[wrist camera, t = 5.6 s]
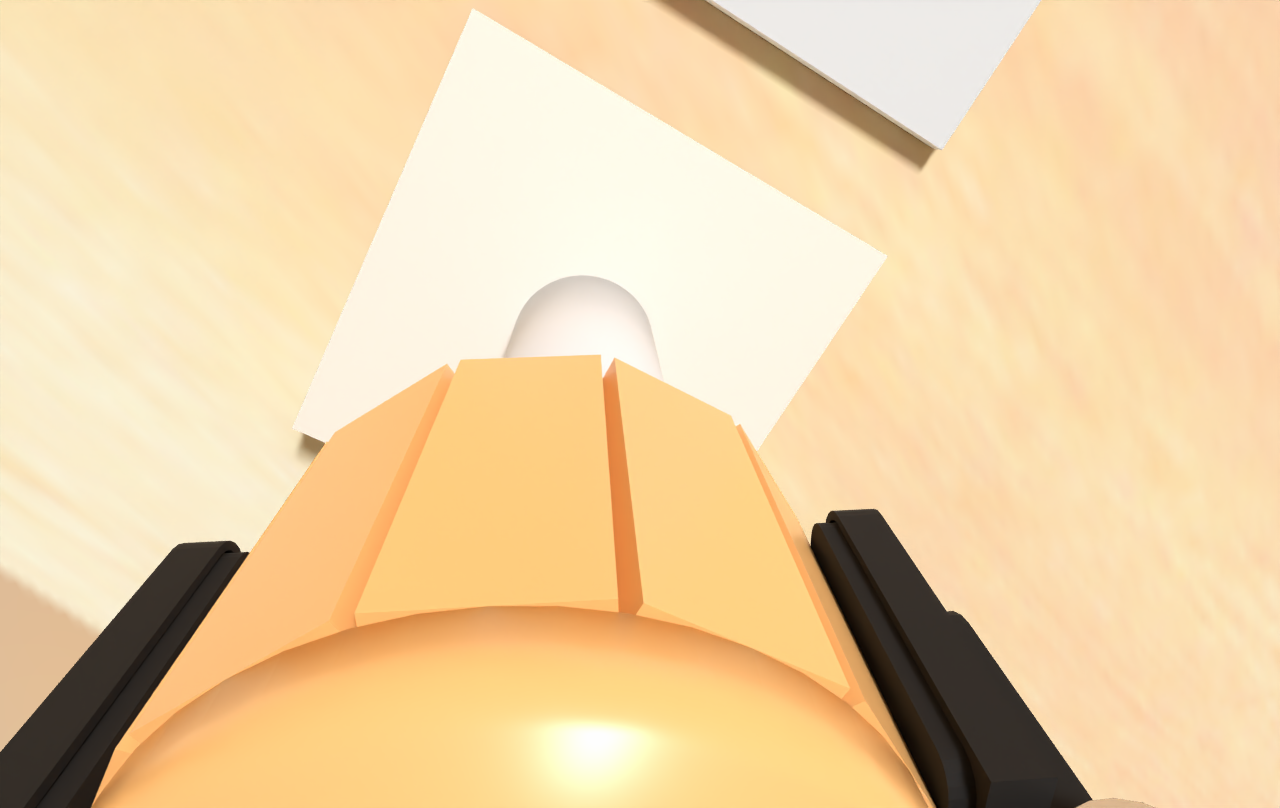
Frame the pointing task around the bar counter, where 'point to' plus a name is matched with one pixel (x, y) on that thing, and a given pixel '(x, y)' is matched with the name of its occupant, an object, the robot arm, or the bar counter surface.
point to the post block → (583, 250)
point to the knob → (524, 621)
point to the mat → (895, 50)
